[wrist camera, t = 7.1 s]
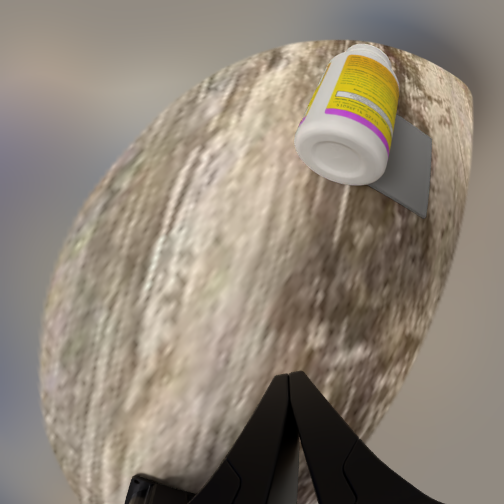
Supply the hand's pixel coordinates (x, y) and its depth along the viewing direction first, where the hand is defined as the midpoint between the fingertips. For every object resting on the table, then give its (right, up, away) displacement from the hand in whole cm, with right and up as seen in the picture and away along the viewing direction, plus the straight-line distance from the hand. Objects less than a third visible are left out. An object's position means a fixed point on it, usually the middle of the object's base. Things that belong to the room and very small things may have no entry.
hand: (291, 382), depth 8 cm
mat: (+11, +14, +15) cm, 23 cm away
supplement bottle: (+4, +10, +10) cm, 14 cm away
